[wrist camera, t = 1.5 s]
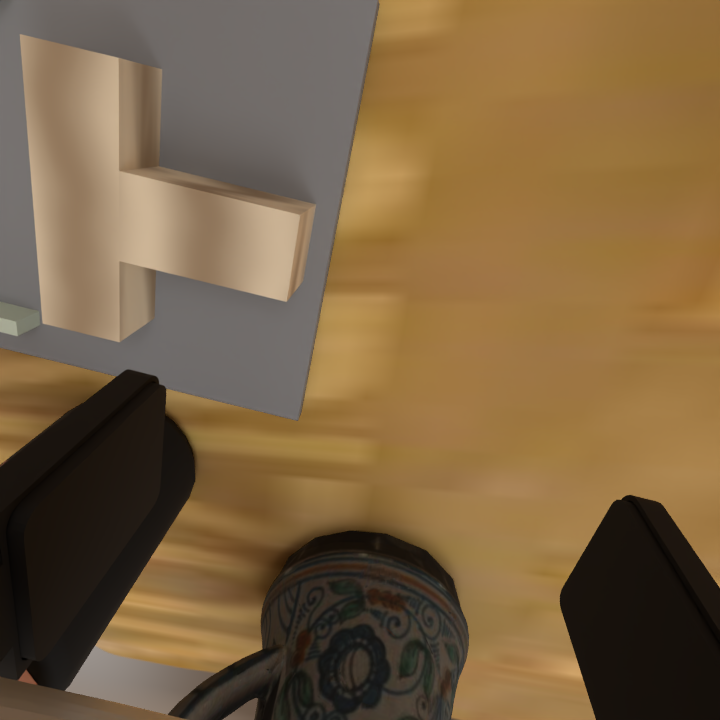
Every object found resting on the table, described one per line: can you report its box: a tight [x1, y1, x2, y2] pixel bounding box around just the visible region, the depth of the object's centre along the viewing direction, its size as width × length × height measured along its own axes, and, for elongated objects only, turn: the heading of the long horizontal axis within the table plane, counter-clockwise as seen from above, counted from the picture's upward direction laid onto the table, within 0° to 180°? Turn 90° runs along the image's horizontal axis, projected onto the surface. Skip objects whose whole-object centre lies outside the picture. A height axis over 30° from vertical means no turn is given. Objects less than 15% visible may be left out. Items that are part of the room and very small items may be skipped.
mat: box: [0, 0, 379, 421], centre depth 27 cm, size 26×24×3 cm
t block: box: [20, 34, 316, 342], centre depth 26 cm, size 14×14×4 cm
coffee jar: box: [0, 403, 195, 691], centre depth 29 cm, size 11×11×18 cm
